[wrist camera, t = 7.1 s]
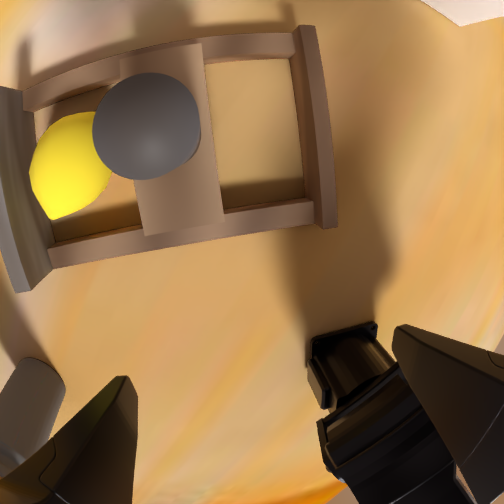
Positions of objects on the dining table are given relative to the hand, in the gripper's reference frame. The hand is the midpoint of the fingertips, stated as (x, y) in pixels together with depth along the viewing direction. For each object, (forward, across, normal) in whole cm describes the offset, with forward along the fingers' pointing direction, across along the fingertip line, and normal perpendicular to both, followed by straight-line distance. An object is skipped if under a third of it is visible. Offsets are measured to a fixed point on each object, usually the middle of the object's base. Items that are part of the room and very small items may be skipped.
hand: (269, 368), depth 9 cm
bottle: (+13, +22, +10) cm, 27 cm away
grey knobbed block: (+12, +3, -8) cm, 15 cm away
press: (+12, +4, -8) cm, 15 cm away
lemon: (+12, +9, -8) cm, 17 cm away
